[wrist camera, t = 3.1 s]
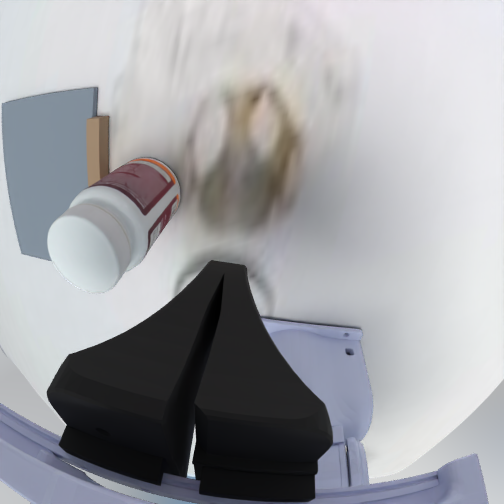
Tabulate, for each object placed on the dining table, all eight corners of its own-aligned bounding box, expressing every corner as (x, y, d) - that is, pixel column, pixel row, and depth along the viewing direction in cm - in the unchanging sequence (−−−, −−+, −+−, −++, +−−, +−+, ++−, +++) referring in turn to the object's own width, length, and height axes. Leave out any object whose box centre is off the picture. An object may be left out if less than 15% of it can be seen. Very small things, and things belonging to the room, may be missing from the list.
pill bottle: (108, 167, 18) (26, 220, 10) (170, 148, 17) (99, 194, 10) (130, 229, 20) (68, 303, 13) (190, 217, 19) (144, 298, 12)
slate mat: (110, 86, 15) (100, 87, 14) (117, 271, 22) (111, 280, 21) (5, 102, 15) (-4, 105, 14) (24, 251, 22) (17, 257, 21)
